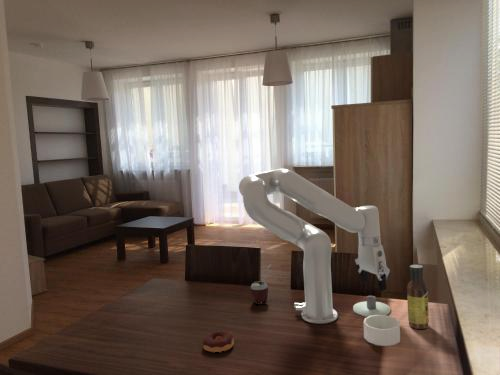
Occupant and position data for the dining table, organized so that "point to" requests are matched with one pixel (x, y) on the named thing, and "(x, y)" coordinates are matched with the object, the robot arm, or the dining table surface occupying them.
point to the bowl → (382, 330)
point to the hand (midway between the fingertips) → (373, 286)
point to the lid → (371, 307)
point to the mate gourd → (260, 290)
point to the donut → (218, 341)
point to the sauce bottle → (417, 299)
